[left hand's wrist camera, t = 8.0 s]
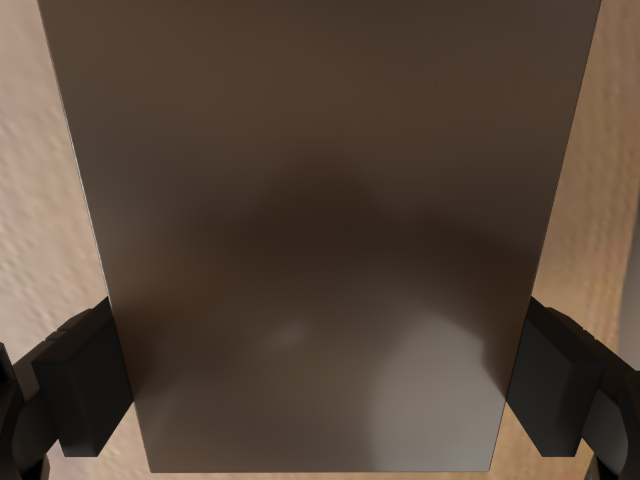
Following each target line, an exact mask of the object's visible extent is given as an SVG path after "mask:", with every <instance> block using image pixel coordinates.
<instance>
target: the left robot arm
mask: <svg viewBox="0 0 640 480" xmlns="http://www.w3.org/2000/svg"><path fill="white" fill-rule="evenodd" d="M506 402H507V403H508V405H509V406H510V408H511V409H512V411H513V412H514V414H515V416H516V417H517V419H518V420H519V422H520V423H521V425H522V426H523V428H524V429H525V431H526V433H527V434H528V436H529V437H530V439H531V440H532V442H533V443H534V445H535V446H536V448H537V449H538V451H539V453H540V454H541V456H542V457H575V454H576V452H577V449H578V446H579V443H580V441H581V438H583V439H584V440H585V442H586V443H587V444H588V445H589V447H590V448H591V449H592V450H593V452H594V454H593V457H592V460H591V462H590V465H589V467H588V470H587V473H586V475H585V478H584V480H640V371H635V370H634V369H633V368H632V367H631V366H629V365H628V364H627V363H626V362H624V361H623V360H622V359H621V358H619V357H618V356H617V355H616V354H615V353H613V352H612V351H611V350H610V349H608V348H607V347H606V346H605V345H603V344H602V343H601V342H600V341H598V340H595V339H594V336H592V335H591V334H590V333H589V332H587V331H586V330H583V328H582V327H581V326H580V325H579V324H578V323H576V322H575V321H574V320H573V319H571V318H570V317H569V316H567V315H565V314H563V313H561V312H559V311H557V310H555V309H553V308H551V307H544V306H543V305H542V304H541V303H539V302H538V301H537V300H536V299H535V298H534V297H532V296H531V298H530V302H529V307H528V311H527V315H526V319H525V323H524V328H523V332H522V336H521V340H520V344H519V348H518V353H517V357H516V361H515V365H514V369H513V374H512V378H511V382H510V386H509V390H508V395H507V399H506ZM132 403H133V398H132V394H131V389H130V385H129V381H128V377H127V373H126V369H125V364H124V360H123V356H122V352H121V348H120V344H119V339H118V335H117V331H116V327H115V323H114V319H113V315H112V310H111V306H110V302H109V298H108V296H107V297H106V298H105V299H104V300H102V301H101V302H100V303H99V304H98V305H97V306H95V307H94V308H93V309H87V310H85V311H83V312H81V313H79V314H78V315H76V316H74V317H72V318H70V319H69V320H68V321H66V322H65V323H64V324H63V325H62V326H60V327H59V328H58V329H57V331H54V332H53V333H52V334H50V335H49V336H48V337H47V338H46V340H45V341H42V342H41V343H39V344H38V345H37V346H36V347H35V348H33V349H32V350H31V351H30V352H28V353H27V354H26V355H25V356H24V357H22V358H21V359H20V360H19V361H17V362H16V363H15V364H14V365H13V366H12V364H11V362H10V359H9V356H8V354H7V351H6V349H5V346H4V344H3V343H1V342H0V480H48V479H49V472H50V465H49V460H48V457H47V454H46V453H47V452H48V451H49V449H50V448H51V447H52V446H53V444H54V443H55V442H56V441H57V439H59V442H60V445H61V448H62V450H63V453H64V456H65V457H98V455H99V453H100V452H101V450H102V449H103V447H104V446H105V444H106V443H107V441H108V440H109V438H110V437H111V435H112V433H113V432H114V430H115V429H116V427H117V426H118V424H119V423H120V421H121V420H122V418H123V416H124V415H125V413H126V412H127V410H128V409H129V407H130V406H131V404H132Z"/></svg>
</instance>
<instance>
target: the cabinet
mask: <svg viewBox="0 0 640 480" xmlns="http://www.w3.org/2000/svg"><path fill="white" fill-rule="evenodd" d="M601 1H602V0H37V2H38V6H39V11H40V15H41V19H42V23H43V27H44V31H45V36H46V40H47V44H48V48H49V52H50V56H51V61H52V65H53V69H54V73H55V77H56V81H57V86H58V90H59V94H60V98H61V102H62V106H63V111H64V115H65V119H66V123H67V127H68V131H69V136H70V140H71V144H72V148H73V152H74V156H75V160H76V165H77V169H78V173H79V177H80V181H81V185H82V190H83V194H84V198H85V202H86V206H87V210H88V215H89V219H90V223H91V227H92V231H93V235H94V240H95V244H96V248H97V252H98V256H99V260H100V265H101V269H102V273H103V277H104V281H105V285H106V290H107V294H108V298H109V302H110V306H111V310H112V315H113V319H114V323H115V327H116V331H117V335H118V339H119V344H120V348H121V352H122V356H123V360H124V364H125V369H126V373H127V377H128V381H129V385H130V389H131V394H132V398H133V402H134V406H135V410H136V414H137V419H138V423H139V427H140V431H141V435H142V439H143V444H144V448H145V452H146V456H147V460H148V464H149V469H150V472H151V473H295V472H488V471H489V470H490V466H491V462H492V457H493V453H494V449H495V445H496V441H497V436H498V432H499V428H500V424H501V420H502V416H503V411H504V407H505V403H506V399H507V395H508V390H509V386H510V382H511V378H512V374H513V369H514V365H515V361H516V357H517V353H518V348H519V344H520V340H521V336H522V332H523V328H524V323H525V319H526V315H527V311H528V307H529V302H530V298H531V294H532V290H533V286H534V281H535V277H536V273H537V269H538V265H539V261H540V256H541V252H542V248H543V244H544V240H545V235H546V231H547V227H548V223H549V219H550V214H551V210H552V206H553V202H554V198H555V193H556V189H557V185H558V181H559V177H560V173H561V168H562V164H563V160H564V156H565V152H566V147H567V143H568V139H569V135H570V131H571V126H572V122H573V118H574V114H575V110H576V105H577V101H578V97H579V93H580V89H581V85H582V80H583V76H584V72H585V68H586V64H587V59H588V55H589V51H590V47H591V43H592V38H593V34H594V30H595V26H596V22H597V17H598V13H599V9H600V5H601Z"/></svg>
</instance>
